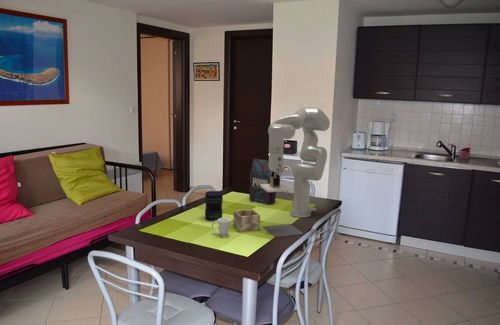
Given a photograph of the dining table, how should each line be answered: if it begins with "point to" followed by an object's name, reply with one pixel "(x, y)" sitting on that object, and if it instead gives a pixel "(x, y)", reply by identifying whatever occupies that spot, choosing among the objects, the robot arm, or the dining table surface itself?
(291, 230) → the mat
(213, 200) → the storage jar
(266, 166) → the coffee bag
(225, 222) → the cup
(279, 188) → the lid
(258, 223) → the crate
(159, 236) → the dining table surface
